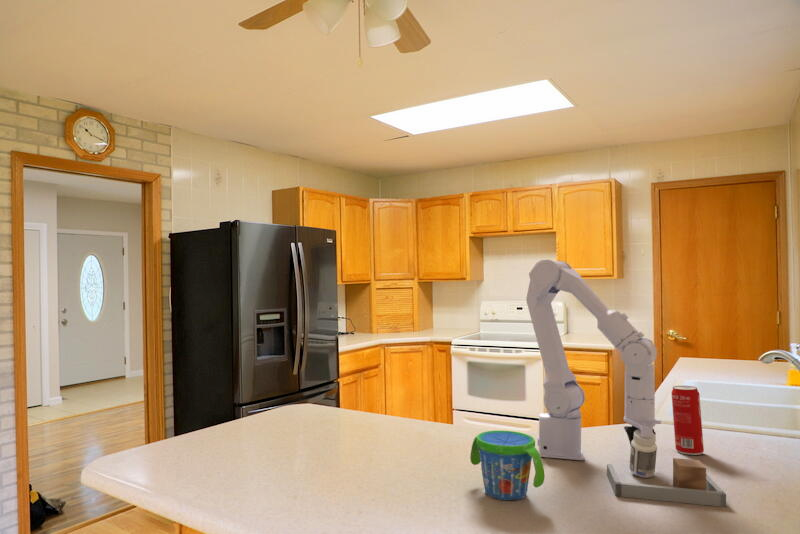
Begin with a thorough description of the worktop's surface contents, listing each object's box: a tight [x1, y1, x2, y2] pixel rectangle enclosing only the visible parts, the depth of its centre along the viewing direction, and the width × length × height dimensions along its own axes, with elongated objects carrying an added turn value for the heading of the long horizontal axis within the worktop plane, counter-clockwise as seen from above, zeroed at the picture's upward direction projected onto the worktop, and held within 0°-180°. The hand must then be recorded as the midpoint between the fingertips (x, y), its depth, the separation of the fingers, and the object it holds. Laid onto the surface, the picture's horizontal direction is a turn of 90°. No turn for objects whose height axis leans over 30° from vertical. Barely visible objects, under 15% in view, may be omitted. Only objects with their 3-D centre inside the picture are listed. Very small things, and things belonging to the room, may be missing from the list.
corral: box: [606, 463, 727, 508], centre depth 100 cm, size 18×11×2 cm, turn 76°
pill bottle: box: [629, 429, 658, 479], centre depth 107 cm, size 5×5×8 cm
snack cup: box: [469, 430, 545, 501], centre depth 97 cm, size 16×10×10 cm
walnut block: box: [672, 457, 707, 490], centre depth 99 cm, size 4×4×6 cm
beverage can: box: [671, 385, 705, 456], centre depth 124 cm, size 6×6×15 cm
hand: (639, 463), depth 110 cm, fingers closed, pressing on pill bottle
